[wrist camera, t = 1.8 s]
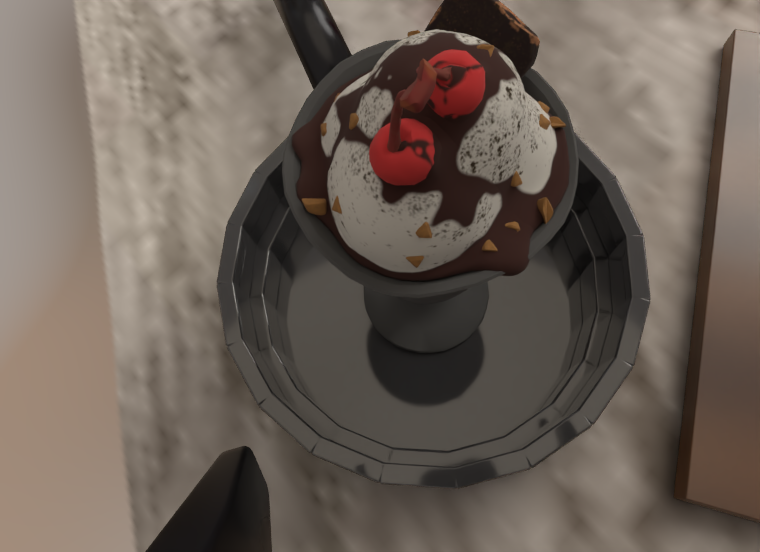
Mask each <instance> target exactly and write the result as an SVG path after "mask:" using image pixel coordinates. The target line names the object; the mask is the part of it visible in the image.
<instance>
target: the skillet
mask: <svg viewBox="0 0 760 552" xmlns="http://www.w3.org/2000/svg"><path fill="white" fill-rule="evenodd" d="M574 134H575V137H576V144H577V151H578V159H579V166H578V180H577V187H576V192H575V196H574V200H573V204H572V207H571V209H570V211H569V214H568V216H567V218H566V220H565V223H564V224H563V225H562V227H561V228H560V229H559V230H558V231H557V233H556V234H555V235H554V236H553V238H552V239H551V240H550V241H549V242H548V243H547V244H546V245H545V246H544V247H543V248H542V249H540V250H539V251H538V252H537V253H536V254H535V255H534V256H533V257H532V258H531V259H530V260H529V264H528V266H527V267H526V269H525V270H524V271H523V272H521V273H520V274H518V275H515V276H499V277H496V278H494V279H492V280H490V281H488V282H487V283H488V290H489V300H488V305H487V309H486V312H485V315H484V318H483V320H482V322H481V323H480V325H479V326H478V328H477V329H476V330H475V331H474V332H473V334H472V335H471V336H470V337H469V338H468V339H467V340H465V341H463V342H462V343H460V344H458V345H457V346H455V347H452V348H450V349H448V350H446V351H440V352H434V353H417V352H413V351H409V350H406V349H403V348H400V347H398V346H395V345H394V344H392V343H391V342H390V341H388V340H387V339H385V338H384V337H383V336H382V335H381V334H380V333H379V332H378V331H377V330H376V329H375V327H374V325H373V324H372V322H371V320H370V318H369V316H368V314H367V312H366V309H365V303H364V286H363V285H361V284H359V283H358V282H356V281H354V280H352V279H350V278H348V277H347V276H346V275H344V274H343V273H342V272H341V271H340V270H338V269H337V268H336V267H335V266H334V265H333V264H331V263H330V262H329V261H328V260H327V259H326V258H325V257H324V256H323V255H322V254H321V253H320V252H319V251H318V250H317V249H316V248H315V247H314V246H313V245H312V244H311V243H310V242H309V241H308V239H307V238H306V236H305V234H304V233H303V231H302V229H301V228H300V226H299V224H298V222H297V221H296V219H295V217H294V215H293V213H292V211H291V208H290V206H289V204H288V201H287V199H286V196H285V194H284V185H283V176H282V163H283V152H284V149H285V146H286V142H287V139H288V137H287V138H286V139H285V140H284V141H283V142H282V143H281V144H280V145H279V146H278V147H277V148H276V149H275V150H274V151H273V153H272V154H271V155H270V156H269V157H268V158H267V159H266V160H265V161H264V162H263V163H262V164H261V165H260V166H259V167H258V168H257V169H256V170H255V172H254V173H253V175H252V177H251V179H250V181H249V182H248V184H247V186H246V188H245V190H244V192H243V194H242V196H241V198H240V200H239V202H238V203H237V205H236V207H235V209H234V211H233V213H232V215H231V217H230V219H229V221H228V224H227V226H226V232H225V238H224V243H223V249H222V255H221V261H220V267H219V272H218V278H217V291H218V297H219V303H220V310H221V316H222V322H223V329H224V335H225V341H226V346H227V349H228V351H229V353H230V355H231V357H232V358H233V360H234V362H235V364H236V366H237V368H238V370H239V371H240V373H241V375H242V377H243V379H244V381H245V383H246V384H247V386H248V388H249V390H250V392H251V394H252V396H253V397H254V399H255V401H256V403H257V404H258V405H259V407H260V408H261V409H262V410H263V411H264V412H265V413H266V414H267V415H268V416H270V417H271V418H272V419H273V420H274V421H275V422H276V423H277V424H278V425H279V426H280V427H282V428H283V429H284V430H285V431H286V432H287V433H288V434H289V435H290V436H291V437H293V438H294V439H295V440H296V441H297V442H298V443H299V444H300V445H301V446H302V447H303V448H305V449H306V450H307V451H308V452H309V453H312V455H314V456H316V457H318V458H321V459H323V460H325V461H328V462H330V463H333V464H335V465H337V466H340V467H342V468H344V469H347V470H349V471H351V472H354V473H356V474H358V475H361V476H363V477H365V478H368V479H370V480H372V481H375V482H377V483H381V484H390V485H405V486H419V487H433V488H447V489H456V488H458V489H459V488H463V487H467V486H470V485H474V484H478V483H481V482H485V481H489V480H492V479H496V478H500V477H503V476H507V475H511V474H514V473H518V472H522V471H525V470H529V469H531V468H533V467H535V466H536V465H538V464H539V463H540V462H542V461H543V460H545V459H546V458H548V457H549V456H550V455H552V454H553V453H555V452H556V451H558V450H559V449H560V448H562V447H563V446H565V445H566V444H568V443H569V442H570V441H572V440H573V439H575V438H576V437H578V436H579V435H580V434H582V433H583V432H585V431H586V430H588V429H589V428H590V427H591V426H592V425H593V424H594V423H595V422H596V421H597V419H598V418H599V416H600V415H601V413H602V412H603V410H604V409H605V408H606V406H607V405H608V403H609V402H610V400H611V399H612V397H613V396H614V395H615V393H616V392H617V390H618V389H619V387H620V386H621V384H622V383H623V382H624V380H625V379H626V377H627V376H628V374H629V373H630V371H631V370H632V368H633V366H634V364H635V360H636V356H637V352H638V348H639V344H640V340H641V336H642V332H643V328H644V324H645V320H646V316H647V312H648V308H649V305H650V290H649V280H648V271H647V261H646V251H645V242H644V236H643V233H642V231H641V229H640V226H639V224H638V222H637V220H636V218H635V216H634V214H633V212H632V209H631V207H630V205H629V203H628V201H627V199H626V197H625V194H624V192H623V190H622V188H621V186H620V184H619V182H618V180H617V178H616V176H615V175H614V174H613V173H612V172H611V171H610V170H609V169H608V168H607V166H606V165H605V164H604V163H603V162H602V161H601V160H600V159H599V158H598V157H597V156H596V155H595V154H594V152H593V151H592V150H591V149H590V148H589V147H588V146H587V145H586V144H585V143H584V142H583V141H582V140H581V138H580V137H579V136H578V135H577V134H576V133H574Z"/></svg>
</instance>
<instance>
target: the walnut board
mask: <svg viewBox="0 0 760 552" xmlns="http://www.w3.org/2000/svg"><path fill="white" fill-rule="evenodd" d="M674 498H675V499H679V500H682V501H686V502H689V503H692V504H696V505H699V506H703V507H706V508H710V509H713V510H717V511H720V512H723V513H727V514H730V515H734V516H737V517H741V518H744V519H747V520H751V521H754V522H758V523H760V33H756V32H750V31H743V30H737V29H735V30H734V31H733V33H732V34H731V36H730V37H729V38H728V40H727V41H726V43H725V44H724V47H723V56H722V65H721V74H720V83H719V92H718V101H717V110H716V119H715V128H714V137H713V146H712V155H711V164H710V173H709V182H708V191H707V200H706V209H705V218H704V227H703V236H702V245H701V254H700V263H699V272H698V281H697V290H696V299H695V308H694V317H693V326H692V335H691V344H690V353H689V362H688V371H687V381H686V390H685V399H684V408H683V417H682V426H681V435H680V444H679V453H678V462H677V471H676V480H675V489H674Z"/></svg>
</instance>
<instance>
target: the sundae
mask: <svg viewBox="0 0 760 552" xmlns="http://www.w3.org/2000/svg"><path fill="white" fill-rule="evenodd" d="M539 43H540V41H539V39H538V37H537V35H536V34H535V33H534V32H533V31H532V30H530V29H529V28H528V27H527V26H526V25H525V24H524V23H523V22H522V21H521V20H520V19H519V18H518V17H517V16H516V15H515V14H514V13H513V12H512V11H511V10H510V9H508V8H507V7H506V6H505V5H504V4H502V3H501V2H500V1H498V0H444V1H443V3H442V4H441V5H440V7H439V8H438V10H437V11H436V13H435V15H434V16H433V18H432V19H431V21H430V23H429V24H428V26H427V28H426V29H425V31H424V32H421V33H420V31H418V30H417V31H411V32H408V37H407V38H405V39H403V40H392V41H385V42H382V43H379V44H377V45H374V46H371V47H368V48H366V49H363V50H361V51H359V52H357V53H355V54H354V55H352V56H350V57H348V58H347V59H345V60H343V61H341V62H340V63H338V64H337V65H336V66H335V67H334V68H333V69H332V70H331V71H330V72H329V73H328V74H327V75H326V76H325V77H324V78H323V79H322V80H321V81H320V82H319V84H318V85H317V86H316V88H315V89H314V90H313V91H312V93H311V94H310V95H309V97H308V98H307V99H306V101H305V103H304V105H303V107H302V108H301V110H300V112H299V114H298V116H297V118H296V120H295V122H294V124H293V127H292V129H291V131H290V134H289V136H288V139H287V142H286V146H285V149H284V152H283V163H282V176H283V185H284V194H285V196H286V199H287V201H288V204H289V206H290V208H291V211H292V213H293V215H294V217H295V219H296V221H297V222H298V224H299V226H300V228H301V229H302V231H303V233H304V234H305V236H306V238H307V239H308V241H309V242H310V243H311V244H312V245H313V246H314V247H315V248H316V249H317V250H318V251H319V252H320V253H321V254H322V255H323V256H324V257H325V258H326V259H327V260H328V261H329V262H330V263H331V264H333V265H334V266H335V267H336V268H337V269H338V270H340V271H341V272H342V273H343V274H344V275H346V276H347V277H348V278H350V279H352V280H354V281H356V282H358V283H359V284H361V285H363V286H364V303H365V309H366V312H367V314H368V316H369V318H370V320H371V322H372V324H373V325H374V327H375V329H376V330H377V331H378V332H379V333H380V334H381V335H382V336H383V337H384V338H385V339H387V340H388V341H390V342H391V343H392V344H394V345H395V346H398V347H400V348H403V349H406V350H409V351H413V352H417V353H434V352H440V351H446V350H448V349H450V348H452V347H455V346H457V345H458V344H460V343H462V342H463V341H465V340H467V339H468V338H469V337H470V336H471V335H472V334H473V332H474V331H475V330H476V329H477V328H478V326H479V325H480V323H481V322H482V320H483V318H484V315H485V312H486V309H487V305H488V300H489V290H488V283H487V282H488V281H490V280H492V279H494V278H496V277H499V276H515V275H518V274H520V273H521V272H523V271H524V270H525V269H526V267H527V266H528V264H529V260H530V259H531V258H532V257H533V256H534V255H535V254H536V253H537V252H538V251H539V250H540V249H542V248H543V247H544V246H545V245H546V244H547V243H548V242H549V241H550V240H551V239H552V238H553V236H554V235H555V234H556V233H557V231H558V230H559V229H560V228H561V227H562V225H563V224H564V223H565V220H566V218H567V216H568V214H569V211H570V209H571V207H572V204H573V200H574V196H575V192H576V187H577V180H578V166H579V159H578V151H577V144H576V137H575V134H574V130H573V127H572V123H571V120H570V116H569V113H568V111H567V109H566V107H565V106H564V104H563V103H562V101H561V100H560V98H559V97H558V95H557V94H556V92H555V90H554V89H553V88H552V87H551V86H550V85H549V84H548V83H547V82H546V81H545V80H544V79H543V78H542V76H541V75H540V74H539V73H538V72H537V71H535V70H533V69H531V67H532V66H533V64H534V62H535V59H536V57H537V53H538V48H539Z"/></svg>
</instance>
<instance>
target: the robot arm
mask: <svg viewBox="0 0 760 552" xmlns="http://www.w3.org/2000/svg"><path fill="white" fill-rule="evenodd" d="M146 552H272V542H271V522H270V502H269V492H268V487H267V484H266V481H265V479H264V477H263V474H262V472H261V470H260V468H259V465H258V463H257V461H256V458H255V456H254V454H253V452H252V450H251V449H250V448H249V447H247V446H243V447H239V448H235V449H231V450H228V451H225V452H223V453H222V454H221V455H220V456H219V457H218V458H217V459H216V461H215V462H214V463H213V465H212V466H211V467H210V469H209V470H208V471H207V472H206V474H205V475H204V476H203V478H202V479H201V480H200V481H199V483H198V484H197V485H196V487H195V488H194V489H193V491H192V492H191V493H190V494H189V496H188V497H187V498H186V500H185V501H184V502H183V504H182V505H181V506H180V507H179V509H178V510H177V511H176V513H175V514H174V515H173V517H172V518H171V519H170V520H169V522H168V523H167V524H166V526H165V527H164V528H163V530H162V531H161V532H160V533H159V535H158V536H157V537H156V539H155V540H154V541H153V543H152V544H151V545H150V546H149V548H148V549H147V550H146Z"/></svg>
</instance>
